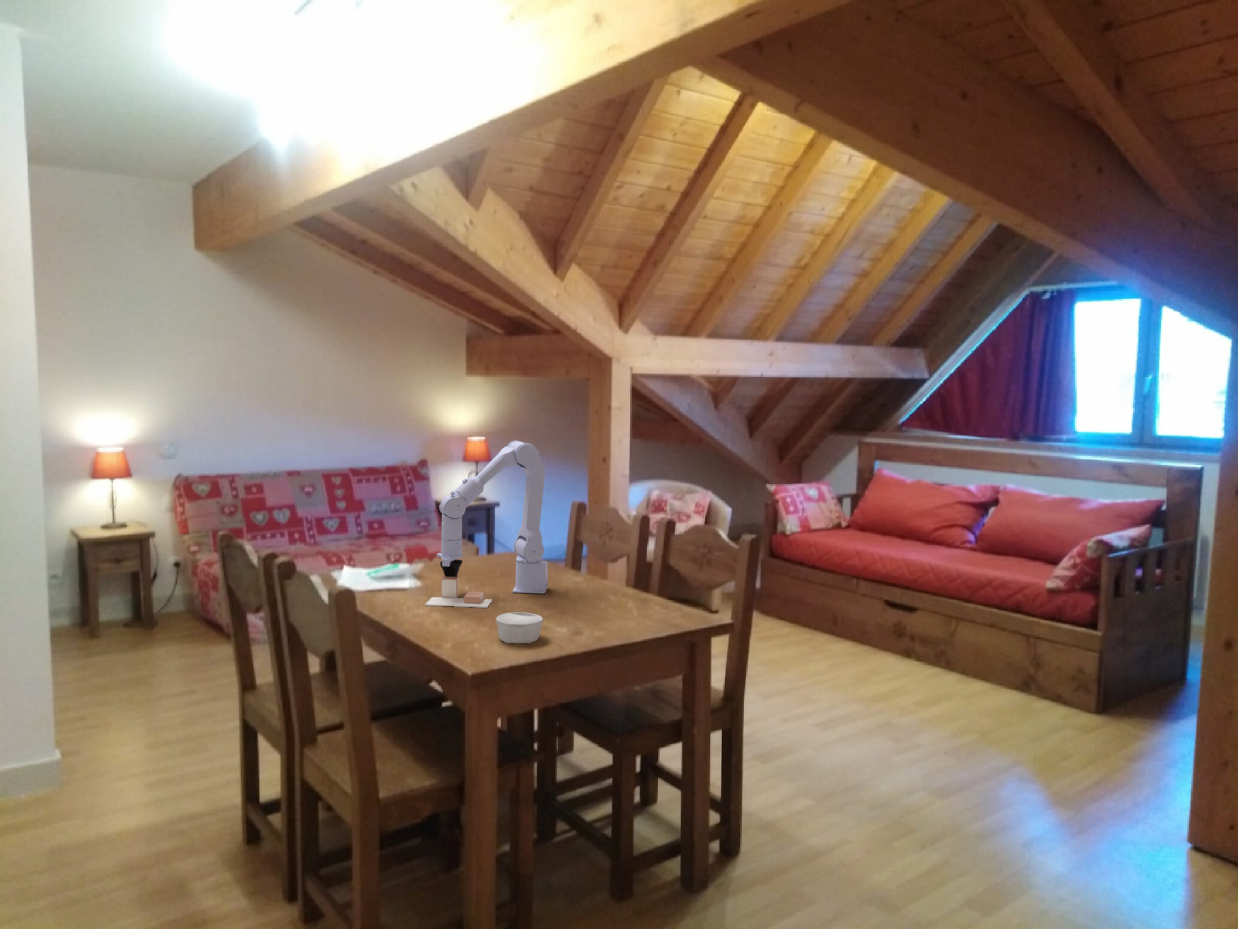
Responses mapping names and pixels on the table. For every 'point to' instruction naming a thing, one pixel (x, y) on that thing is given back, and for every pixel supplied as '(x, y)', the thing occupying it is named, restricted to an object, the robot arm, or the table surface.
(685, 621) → the table surface
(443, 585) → the tile
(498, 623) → the ramekin
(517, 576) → the robot arm
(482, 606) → the felt mat
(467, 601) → the tile
